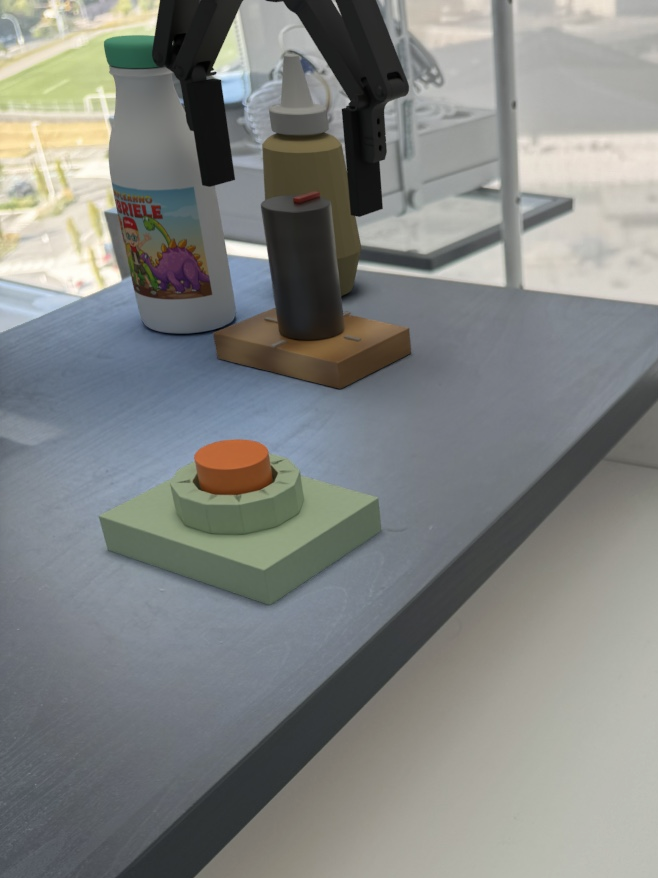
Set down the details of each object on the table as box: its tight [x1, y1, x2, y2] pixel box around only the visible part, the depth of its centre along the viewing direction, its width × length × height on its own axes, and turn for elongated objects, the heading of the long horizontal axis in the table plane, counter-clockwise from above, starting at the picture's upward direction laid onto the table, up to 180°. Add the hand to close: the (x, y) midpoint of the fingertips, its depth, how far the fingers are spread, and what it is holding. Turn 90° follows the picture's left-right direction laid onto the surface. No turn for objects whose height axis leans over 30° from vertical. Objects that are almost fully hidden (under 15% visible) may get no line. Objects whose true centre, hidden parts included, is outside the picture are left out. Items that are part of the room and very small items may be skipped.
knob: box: [260, 191, 345, 340], centre depth 87 cm, size 5×5×9 cm
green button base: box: [98, 452, 383, 606], centre depth 67 cm, size 12×10×4 cm
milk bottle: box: [103, 34, 237, 334], centre depth 91 cm, size 8×8×20 cm
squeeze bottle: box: [261, 53, 362, 297], centre depth 98 cm, size 8×8×18 cm
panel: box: [212, 307, 412, 390], centre depth 91 cm, size 12×9×2 cm
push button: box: [193, 438, 273, 495], centre depth 65 cm, size 4×4×2 cm
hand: (290, 197), depth 84 cm, fingers open, 13 cm apart
